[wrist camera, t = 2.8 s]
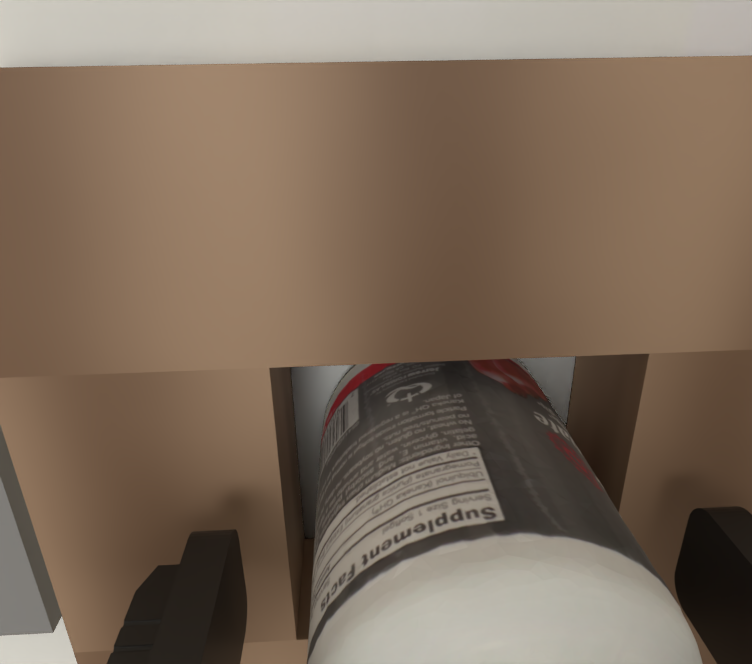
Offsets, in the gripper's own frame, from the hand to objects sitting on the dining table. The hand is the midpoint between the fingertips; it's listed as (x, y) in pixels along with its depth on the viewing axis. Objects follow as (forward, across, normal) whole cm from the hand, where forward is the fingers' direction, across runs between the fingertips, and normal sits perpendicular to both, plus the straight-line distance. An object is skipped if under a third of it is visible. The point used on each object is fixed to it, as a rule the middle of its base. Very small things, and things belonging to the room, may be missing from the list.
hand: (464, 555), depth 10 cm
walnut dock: (+4, 0, 0) cm, 4 cm away
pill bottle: (+4, 0, 0) cm, 4 cm away
